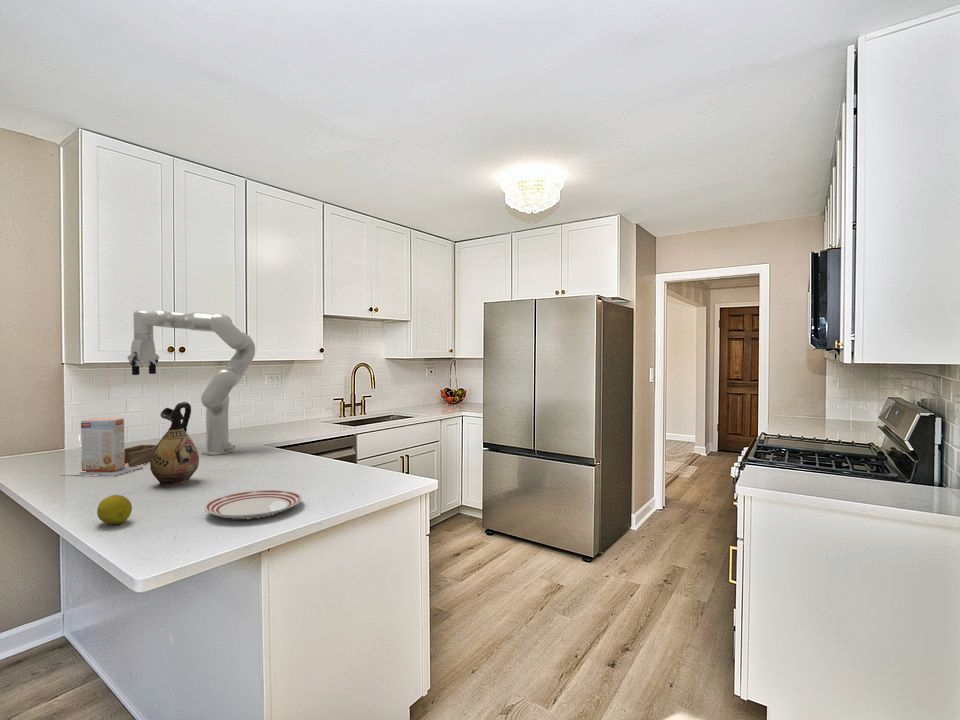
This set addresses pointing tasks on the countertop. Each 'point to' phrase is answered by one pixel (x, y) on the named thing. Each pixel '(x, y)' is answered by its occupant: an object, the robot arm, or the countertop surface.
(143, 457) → the holder
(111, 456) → the cracker box
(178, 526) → the countertop surface
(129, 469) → the mat
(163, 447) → the ceramic jug
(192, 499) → the countertop surface
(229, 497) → the dinner plate
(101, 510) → the lemon
